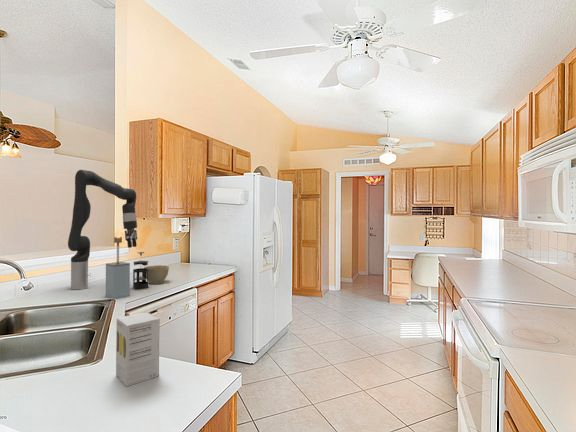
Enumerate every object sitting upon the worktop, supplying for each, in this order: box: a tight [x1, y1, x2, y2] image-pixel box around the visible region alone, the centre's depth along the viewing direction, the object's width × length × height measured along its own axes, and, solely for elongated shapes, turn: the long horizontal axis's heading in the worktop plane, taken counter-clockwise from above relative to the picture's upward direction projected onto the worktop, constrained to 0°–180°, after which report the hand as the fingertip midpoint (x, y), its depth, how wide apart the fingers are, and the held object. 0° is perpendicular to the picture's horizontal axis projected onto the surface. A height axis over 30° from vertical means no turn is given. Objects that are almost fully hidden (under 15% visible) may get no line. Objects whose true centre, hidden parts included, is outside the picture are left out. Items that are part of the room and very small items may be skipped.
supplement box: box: [115, 311, 161, 387], centre depth 95 cm, size 10×9×17 cm
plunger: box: [113, 236, 123, 264], centre depth 187 cm, size 6×6×24 cm
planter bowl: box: [143, 265, 170, 285], centre depth 226 cm, size 16×16×11 cm
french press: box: [132, 251, 150, 291], centre depth 210 cm, size 12×9×23 cm
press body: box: [105, 261, 131, 300], centre depth 187 cm, size 9×9×19 cm
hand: (132, 247), depth 199 cm, fingers open, 8 cm apart
